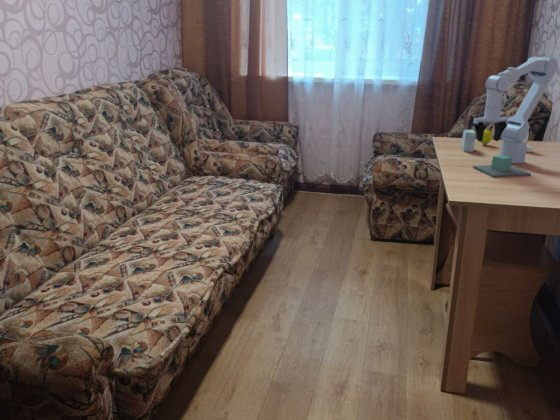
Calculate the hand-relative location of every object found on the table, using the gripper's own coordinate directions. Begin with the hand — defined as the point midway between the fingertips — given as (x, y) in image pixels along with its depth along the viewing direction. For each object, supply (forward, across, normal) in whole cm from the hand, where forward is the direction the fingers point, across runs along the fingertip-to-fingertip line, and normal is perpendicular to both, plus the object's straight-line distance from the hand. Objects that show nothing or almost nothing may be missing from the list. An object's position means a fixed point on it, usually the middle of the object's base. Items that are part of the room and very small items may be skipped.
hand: (487, 140), depth 216 cm
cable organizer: (+10, -32, -21) cm, 40 cm away
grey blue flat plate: (+10, 0, +11) cm, 15 cm away
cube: (+9, 0, +10) cm, 14 cm away
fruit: (+10, -23, -33) cm, 41 cm away
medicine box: (+10, -8, -25) cm, 28 cm away
